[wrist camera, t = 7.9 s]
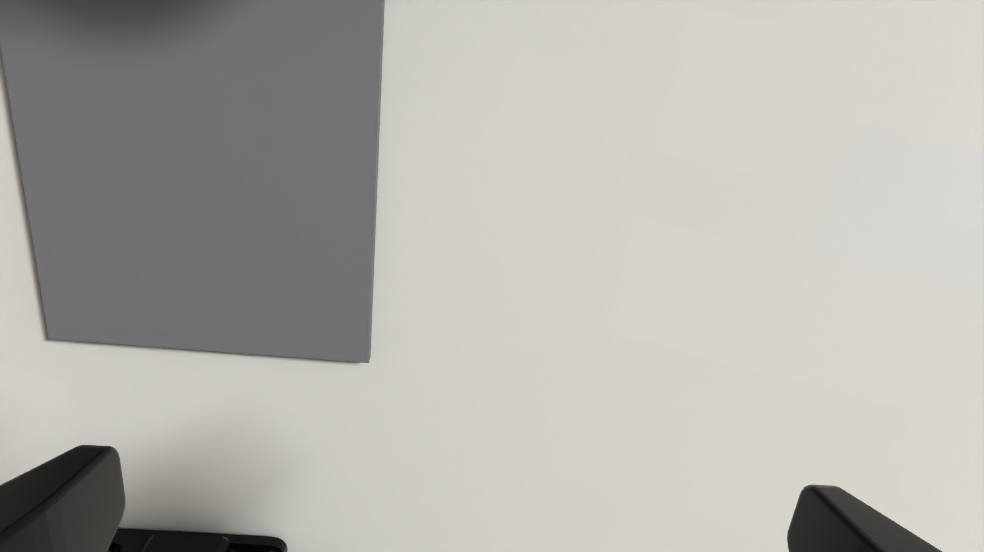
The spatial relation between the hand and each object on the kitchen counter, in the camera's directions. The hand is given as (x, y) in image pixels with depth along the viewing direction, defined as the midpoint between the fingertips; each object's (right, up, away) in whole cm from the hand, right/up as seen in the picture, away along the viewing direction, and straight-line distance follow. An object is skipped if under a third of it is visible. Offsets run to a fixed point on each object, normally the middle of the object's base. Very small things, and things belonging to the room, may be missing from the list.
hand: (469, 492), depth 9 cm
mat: (-8, +6, +11) cm, 15 cm away
